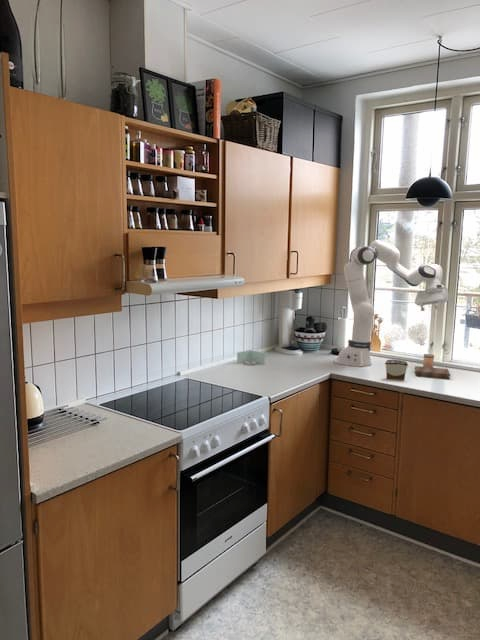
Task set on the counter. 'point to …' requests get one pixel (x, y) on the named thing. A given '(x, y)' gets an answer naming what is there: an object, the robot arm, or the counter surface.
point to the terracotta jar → (428, 360)
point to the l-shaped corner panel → (251, 357)
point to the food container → (395, 369)
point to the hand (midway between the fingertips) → (429, 309)
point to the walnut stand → (432, 372)
